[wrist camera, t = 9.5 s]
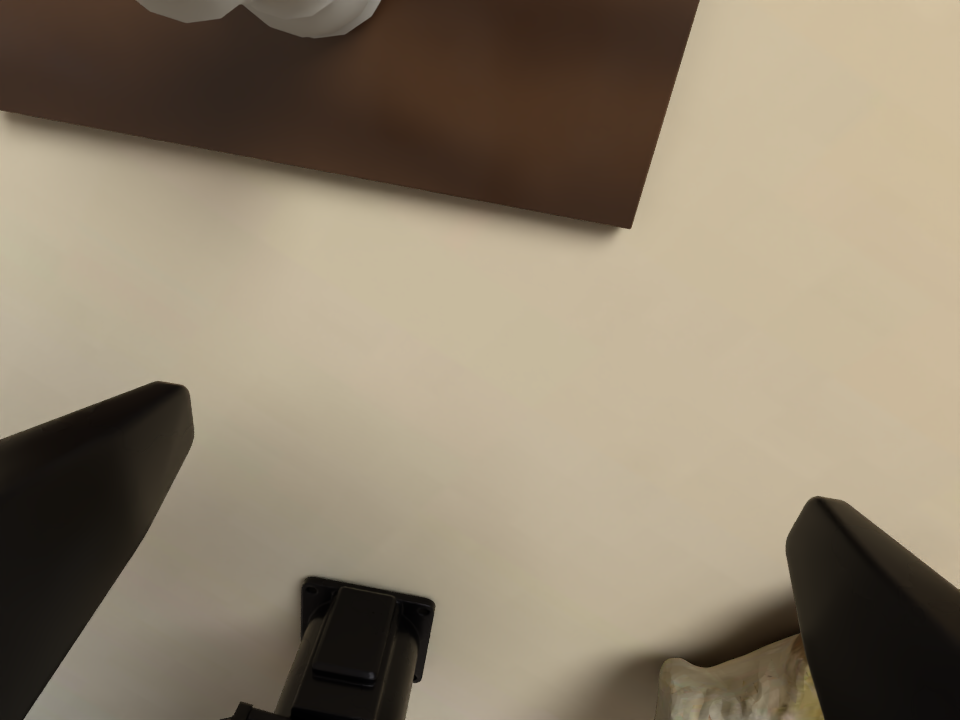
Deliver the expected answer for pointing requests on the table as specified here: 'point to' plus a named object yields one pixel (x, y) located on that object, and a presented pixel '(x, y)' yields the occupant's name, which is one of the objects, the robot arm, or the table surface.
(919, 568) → the robot arm
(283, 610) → the table surface
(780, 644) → the ceramic sculpture
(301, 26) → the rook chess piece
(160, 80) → the walnut board
